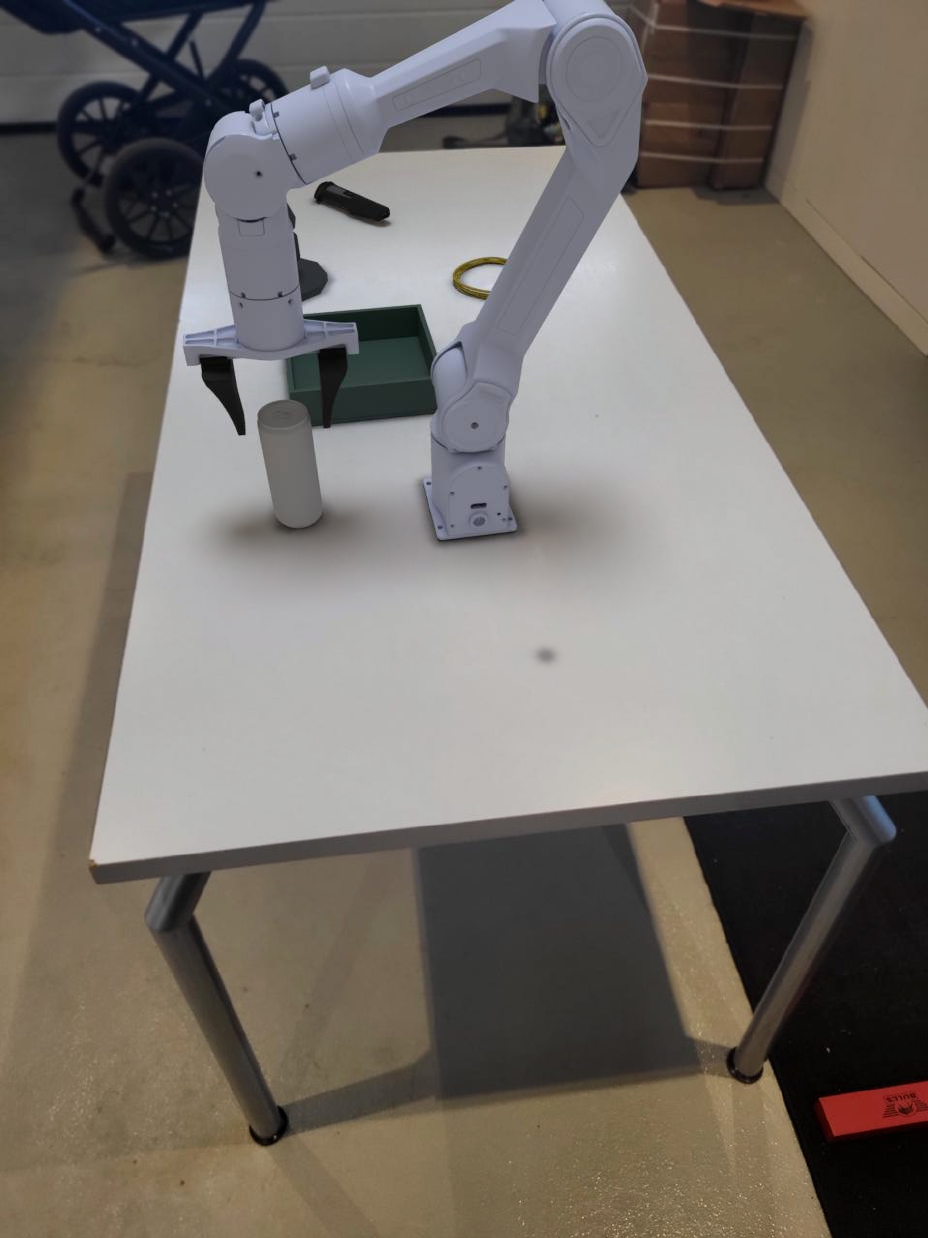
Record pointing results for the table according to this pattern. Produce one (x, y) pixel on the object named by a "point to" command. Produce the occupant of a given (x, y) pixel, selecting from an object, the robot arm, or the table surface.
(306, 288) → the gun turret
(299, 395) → the open storage bin
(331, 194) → the electric trimmer
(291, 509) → the beverage can
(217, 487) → the table surface
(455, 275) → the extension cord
